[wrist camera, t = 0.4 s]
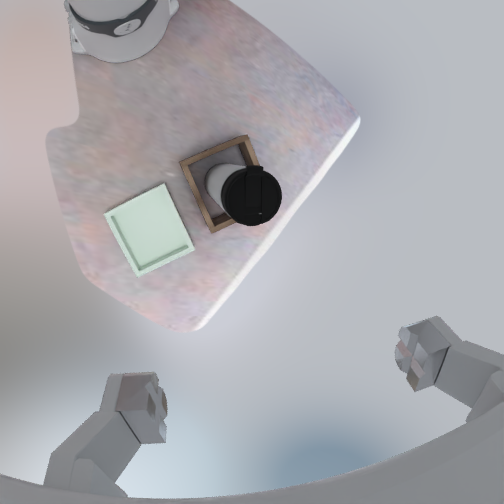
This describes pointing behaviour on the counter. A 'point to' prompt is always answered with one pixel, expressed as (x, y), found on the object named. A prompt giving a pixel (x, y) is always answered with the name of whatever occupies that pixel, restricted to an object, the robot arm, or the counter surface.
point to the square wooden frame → (214, 223)
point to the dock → (149, 230)
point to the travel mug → (244, 192)
